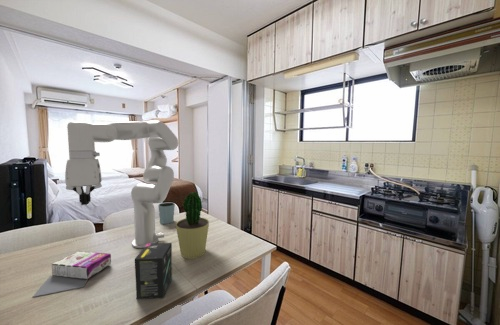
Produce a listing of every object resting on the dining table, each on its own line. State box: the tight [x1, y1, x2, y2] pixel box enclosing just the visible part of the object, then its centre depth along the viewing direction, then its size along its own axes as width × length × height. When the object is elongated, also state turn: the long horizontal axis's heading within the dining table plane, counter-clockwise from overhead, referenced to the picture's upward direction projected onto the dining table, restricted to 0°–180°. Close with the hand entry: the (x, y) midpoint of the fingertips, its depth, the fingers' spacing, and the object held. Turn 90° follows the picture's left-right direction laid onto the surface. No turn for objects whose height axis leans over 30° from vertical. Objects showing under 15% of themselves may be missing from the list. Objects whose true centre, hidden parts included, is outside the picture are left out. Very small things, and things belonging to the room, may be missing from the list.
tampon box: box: [134, 242, 173, 300], centre depth 75 cm, size 11×9×15 cm
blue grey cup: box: [157, 201, 176, 225], centre depth 139 cm, size 10×10×12 cm
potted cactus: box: [175, 191, 210, 259], centre depth 100 cm, size 15×15×30 cm
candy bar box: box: [51, 250, 112, 280], centre depth 85 cm, size 11×5×16 cm
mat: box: [32, 274, 89, 298], centre depth 78 cm, size 14×12×1 cm
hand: (85, 203), depth 79 cm, fingers closed
